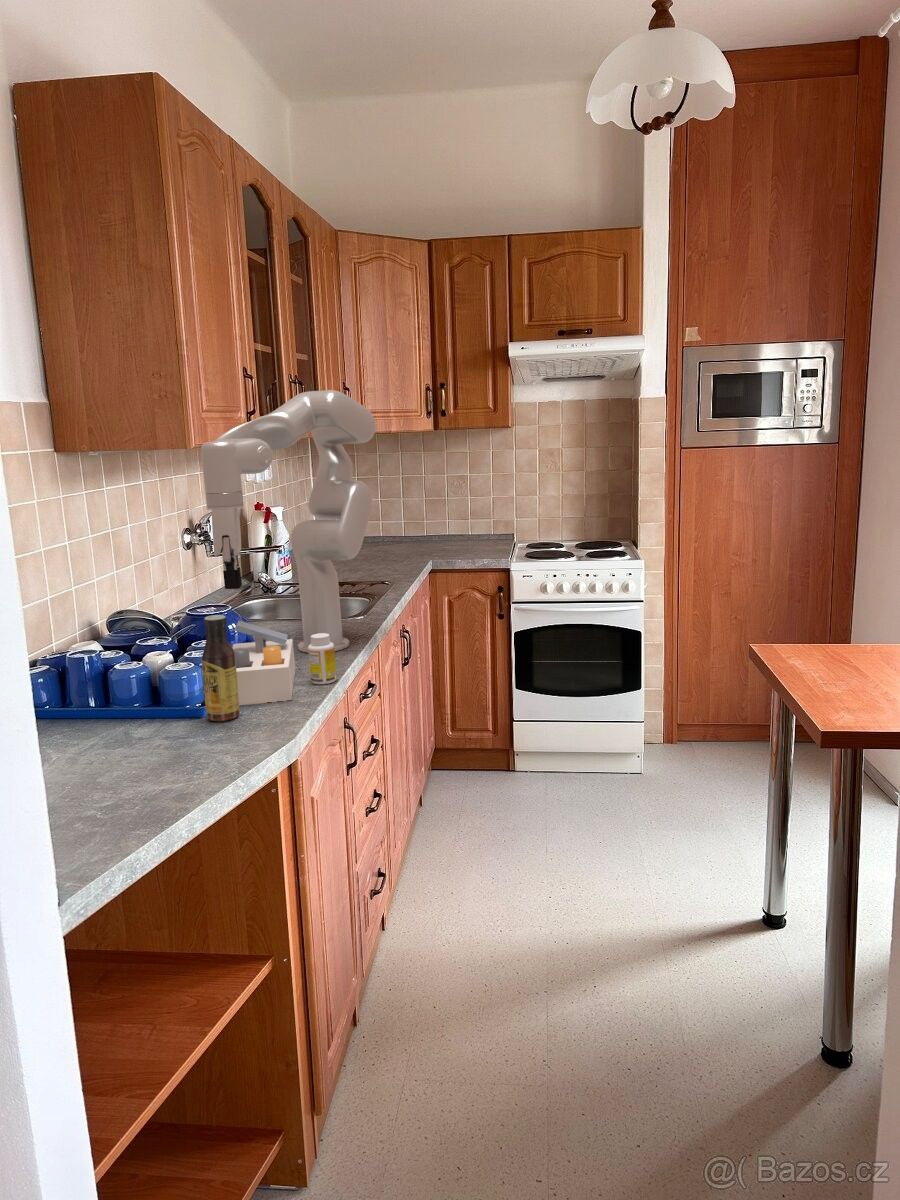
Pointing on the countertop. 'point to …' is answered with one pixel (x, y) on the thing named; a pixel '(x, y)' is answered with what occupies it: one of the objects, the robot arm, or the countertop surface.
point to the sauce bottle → (219, 672)
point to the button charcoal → (242, 657)
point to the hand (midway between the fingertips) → (233, 586)
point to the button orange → (272, 655)
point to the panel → (265, 674)
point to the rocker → (261, 632)
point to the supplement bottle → (322, 659)
